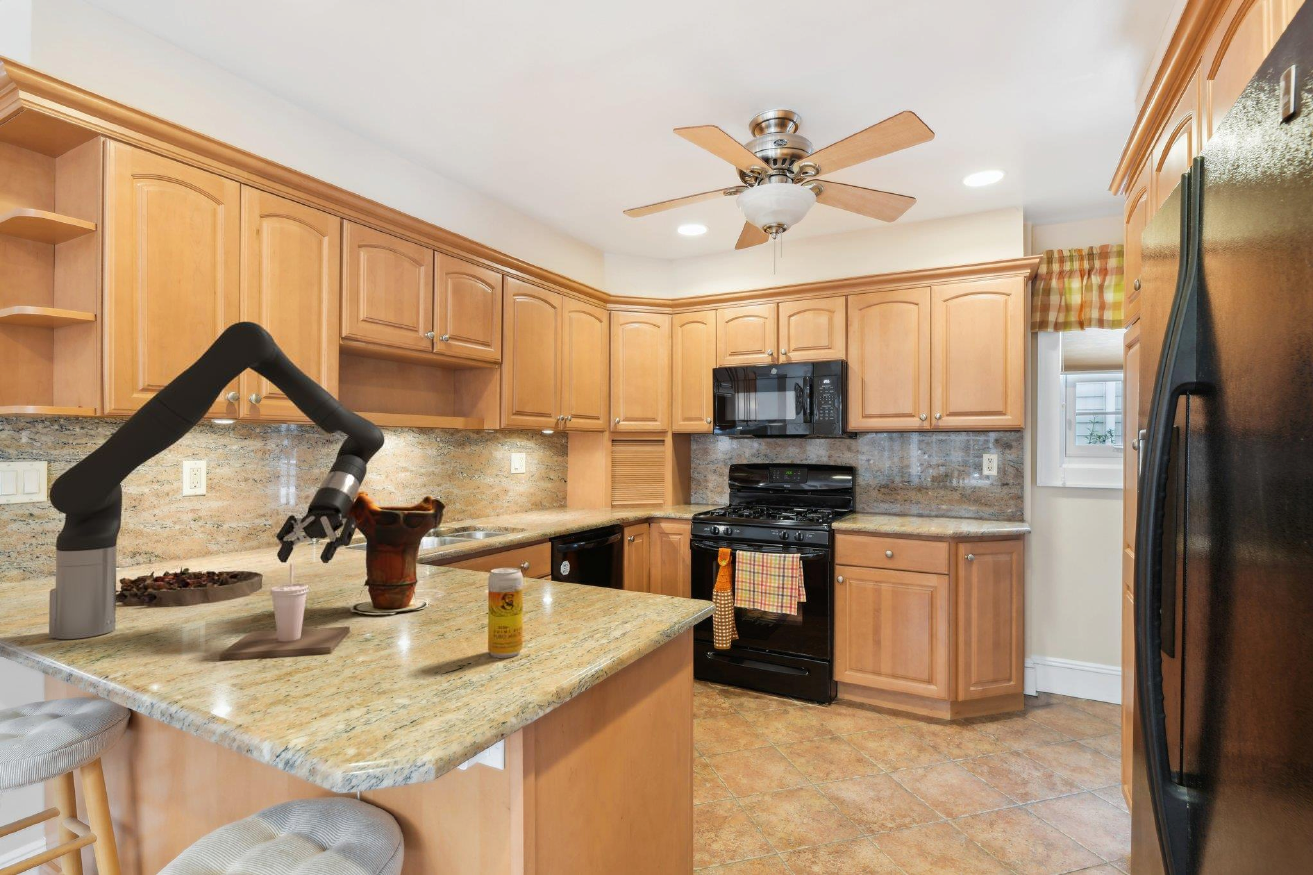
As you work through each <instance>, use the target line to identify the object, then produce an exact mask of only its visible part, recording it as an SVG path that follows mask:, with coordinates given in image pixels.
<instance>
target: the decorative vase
mask: <svg viewBox="0 0 1313 875" xmlns="http://www.w3.org/2000/svg"><path fill="white" fill-rule="evenodd" d="M445 509H446V505H445V503H444V502H443V501H441V500H440V499H438V498H434V497H433V496H432V495H426V496H424V497H423V499H422V500H421V501H419V502H418V503H416V504H414V505H375V503H374V502H373V500H372V499H371V498H370V497H369V496H368V492H366V491H364V490H360V491H359V490H358V494H357V496H356V499H355V501H354V503H353V505H352V507H351V509H350V511H349V513H348V515H347V517H346V519H347V518H348V516H353V517H354V519H355V520H356V522H357V527H356V529H357V530H358V531H359V532H360V533H361V534H362V535H363V536H364V538H365V539H366V546H365V549H366V551H365V568H366V580H365V581H364V585H363V587H368V589H367V592H368V595H369V598H370V600H365V601H361V602H356V603H355V604H353V605H351V606H350V608H349V611H350V612H353V613H354V612H356V613H358V614H366V615H395V614H396V613H398V612H410V611H417V610H421V609H422V610H423V609H426V608H427V607H429V605H428V604H429V602H428V601H427V600H422V599H420V598H419V599H417V598H416V597H414V596H416V591H415V590H416V587H417V584H418V578H417V564H418V563H417V562H418V558H419V557H418V556H419V551H420V546H421V544H422V539H423V538H424V537H425V536H427V534H428V533H430V532H431V531H432V530H434V529H436V528H438V527H440V525H441V523H442V520H443V518H444V510H445ZM362 593H363V590H361V592H360V593H359V598H361V596H362ZM413 597H414V598H413Z"/></svg>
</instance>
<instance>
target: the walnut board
mask: <svg viewBox="0 0 1313 875" xmlns="http://www.w3.org/2000/svg"><path fill="white" fill-rule="evenodd" d="M350 628H351V627H350V626H334V627H333V626H332V627H317V628H302V630H301V637H300V638H299V639H297V640H293V641H278V635H277V630H263V631H262V630H261V631H250V632H248V633H247V634H245V636H243V637H242V638H240V639H239V640H237V641H236V642H234V643H233V644H231V645H230V646H228V647H226V648H225V649H224V650H223V651H221V652H220V653H219V654H218V655H219V661H232V660H233V661H234V660H247V659H248V660H249V659H264V658H265V659H266V658H277V657H280V658H281V657H293V656H296V657H297V656H309V655H310V656H311V655H325V654H326V655H327V654H332V653H333V651H335V649H336V648H337V647H338V646H339V645H340V644H341V643H342V642H343V640H344V639H345V638H346V637H347V636H348V635H349V634H350V633H351V629H350Z"/></svg>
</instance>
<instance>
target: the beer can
mask: <svg viewBox="0 0 1313 875" xmlns="http://www.w3.org/2000/svg"><path fill="white" fill-rule="evenodd" d="M487 578H488V580H487V582H488V585H487V586H488V590H487V591H488V594H487V595H488V596H487V597H488V598H487V599H488V600H487V601H488V602H487V604H488V605H487V606H488V607H487V608H488V609H487V610H488V612H487V615H488V616H487V621H488V623H487V627H488V628H487V633H488V634H487V635H488V636H487V648H488V649H487V652H489V654H490V655H491V657H494V658H499V659H504V658H505V659H506V658H507V659H508V658H512V657H516V656H518V655H519V654H520V653H521V651H522V650H523V648H524V647H523V646H524V645H523V641H524V640H523V638H524V637H523V636H524V635H523V633H524V632H523V630H524V629H523V627H524V626H523V621H524V620H523V619H524V618H523V616H524V615H523V613H524V611H523V610H524V609H523V608H524V606H523V604H524V600H523V599H524V596H523V595H524V592H523V591H524V590H523V589H524V584H523V581H524V580H523V578H524V577H523V573H522V572H521V568H518V567H500V568H493V569H491V570H490V573H489V575H488V577H487Z"/></svg>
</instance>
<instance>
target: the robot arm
mask: <svg viewBox="0 0 1313 875" xmlns="http://www.w3.org/2000/svg"><path fill="white" fill-rule="evenodd" d="M247 369H250V370H252V371H254V372H255V373H257V374H259V375H260V376H261V377H263V378H265V379H266V380H267V381H269V382H270V383H271V384H273V385H274V386H275V388H277V389H278V390H279V391H281V392H282V394H284V395H285V397H287V399H288V400H290V402H292V404H294V405H295V407H296V408H297V409H298V410H299V411H301V413H303V414H304V415H305V416H306V417H307V418H308V419H309V420H310V421H312V422H313V423H314V424H315V425H316V426H317V427H319V428H320V429H321V430H322V431H323V432H325V433H326V434H329V435H332V434H334V433H336V432H340V433H343V434H345V435H347V437H346V438H345V439H344V440H343V442H342V444H341V445H340V447H339V449H338V451H337V454H336V458H335V460H334V462H333V463H332V466H331V468H330V470H329V471H328V473H327V475H326V476H325V478H324V479H322V482H321V483H320V485H319V486H318V488H317V491H316V492H315V494H314V496H313V498H312V499H311V501H310V503H309V505H308V507H307V513H306V514H305V515H304V516H302V518H300V517H296V516H295V515H289V516H288V517H287V519H286V520H285V522H284V524H283V525H282V526H281V528H280V530H279V531H278V533H277V535H276V536H275V537H276V539H277V541H278V542H279V543H280V545H281V546H280V547H279V550H278V552H277V553H276V556H277V559H278V560H279V562H281V563H283V564H284V563H287V562H288V560H289V558H290V556H291V554H292V552H293V551H294V548H295V547H296V546H297V545H298V544H300V543H305V542H306V541H308V540H309V539H313V540H314V539H322V540H323V539H326V538H328V539H329V540H328V542H326V544H325V546H324V548H323V549H322V552H321V555H320V556H319V558H320V560H321V562H322V563H323V564H328V563H329V562H330V561H332V560H333V558H334V555H335V554H336V552H337V550H338V549H339V548H340V547H341V546H344V547H348V546H350V544H351V542H352V540H353V537H354V534H355V532H356V529H357V528H356V527H357V522H356V520H355V519H354V517H353V516H348V518H347V519H346V517H347V515H348V513H349V511H350V509H351V507H352V505H353V503H354V501H355V499H356V496H357V494H358V492H359V490H360V488H361V485H362V483H363V481H364V479H365V477H366V475H367V471H368V470H367V465H368V464H369V462H370V461H371V459H372V458H373V457H374V455H376V454H377V453H378V452H379V451H380V450H381V449H382V448H383V446H384V444H385V436H384V434H383V432H382V430H381V428H380V427H379V426H378V425H376V424H375V422H372V421H370V420H369V419H366V418H365V417H363V416H361V415H359V413H355V412H354V411H352V410H349V409H347V407H346V406H344V405H343V404H342V403H341V402H340V401H339V400H337V398H335V397H334V396H333V395H332V394H331V393H329V391H328V390H326V389H325V388H324V387H323V386H321V385H320V384H319V383H317V382H316V381H314V380H313V379H312V378H311V377H309V376H308V375H307V374H306V373H305V372H303V371H302V370H301V369H299V368H298V367H297V366H296V365H295V363H293V361H291V359H290V358H289V357H288V356H287V355H286V354H285V353H284V351H283V350H282V349H281V348H280V347H279V345H278V344H277V343H276V342H275V340H274V338H273V336H272V334H270V333H269V331H267V329H265V328H264V327H262V326H261V325H260V324H258V323H255V322H253V321H252V322H251V321H238V322H235V323H232V325H230V326H228V327H227V328H225V329H224V331H223V332H222V333H221V334H220V336H218V337H217V339H215V341H214V342H213V343H212V344H211V345H210V347H209V348H208V349H207V350H206V351H205V352H204V353H203V354H201V356H200V357H199V358H198V359H197V360H196V361H195V362H194V363H193V364H192V365H190V366H189V367H188V368H186V369H185V370H183V371H182V372H181V373H180V374H179V375H177V376H176V377H175V378H174V379H172V381H170V382H169V383H168V384H167V385H166V386H164V387H163V388H161V389H160V390H159V391H158V392H157V393H156V394H155V395H153V397H151V398H150V399H149V400H148V401H147V402H146V403H144V404H143V405H142V406H141V407H140V408H139V409H138V410H137V411H135V413H134V414H133V415H132V416H130V418H128V419H127V420H126V421H125V422H124V423H123V424H122V425H121V426H120V427H119V428H118V429H117V430H115V432H114V433H113V434H112V435H111V436H110V437H109V438H108V439H107V440H106V441H105V442H104V443H102V444H101V445H100V446H99V447H97V449H95V450H94V451H93V452H91V453H89V454H88V455H87V456H85V458H83V459H82V460H81V459H80V461H79V462H77V463H76V464H74V465H73V466H72V467H70V468H69V469H67V470H66V471H65V472H63V473H62V474H60V475H59V476H58V477H57V478H56V479H55V480H54V482H53V483H52V485H51V487H50V490H49V501H50V504H51V506H52V507H53V508H54V510H57V511H58V512H59V513H62V514H65V515H64V518H65V519H64V524H63V528H62V529H61V531H60V532H59V534H58V535H57V537H56V542H55V543H56V545H55V546H56V547H55V587H53V588H51V589H50V591H49V608H48V610H49V611H48V614H49V616H48V638H49V639H58V640H74V639H84V638H90V637H96V636H99V635H104V634H107V633H111V632H113V631H115V630H116V620H117V618H116V610H117V609H116V608H117V603H116V594H117V593H116V590H117V552H118V551H117V544H118V543H117V540H118V536H119V534H120V529H121V524H122V512H123V511H122V510H123V509H122V508H123V487H122V484H121V483H122V482H123V481H124V480H125V479H127V477H128V476H129V475H130V474H131V473H132V472H133V471H135V470H136V469H137V468H138V467H140V466H141V465H142V464H145V463H146V462H148V461H149V460H150V459H152V458H154V457H155V456H158V455H159V454H161V453H163V452H164V451H165V450H167V449H168V448H170V447H171V446H173V445H175V443H177V442H178V441H179V440H181V439H182V438H183V437H184V436H185V435H186V434H188V433H189V432H190V431H191V430H192V429H193V428H194V427H196V425H197V424H199V423H200V421H201V420H202V419H203V418H205V416H206V415H207V414H208V412H209V411H210V409H211V408H212V407H213V405H214V403H216V400H217V399H218V398H219V396H220V394H221V393H222V392H223V390H224V389H225V388H226V387H227V386H228V385H229V384H230V383H231V382H232V381H233V380H235V379H236V378H237V377H238V376H240V375H241V374H242V373H243V372H245V371H246V370H247ZM342 527H343V528H342ZM341 528H342V530H341V533H340V535H339V536H337V534H336V532H337V531H338V530H340V529H341ZM302 531H303V533H304V534H302V533H301V532H302Z"/></svg>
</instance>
